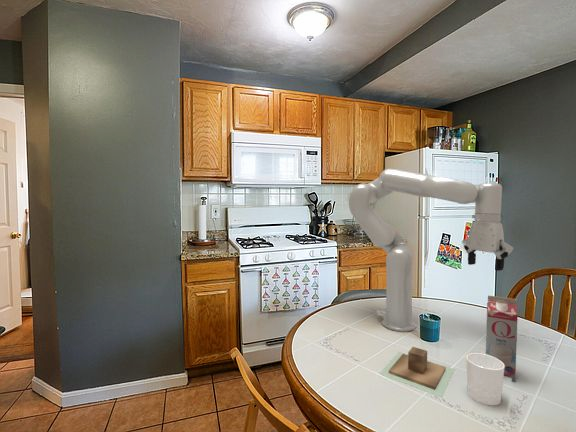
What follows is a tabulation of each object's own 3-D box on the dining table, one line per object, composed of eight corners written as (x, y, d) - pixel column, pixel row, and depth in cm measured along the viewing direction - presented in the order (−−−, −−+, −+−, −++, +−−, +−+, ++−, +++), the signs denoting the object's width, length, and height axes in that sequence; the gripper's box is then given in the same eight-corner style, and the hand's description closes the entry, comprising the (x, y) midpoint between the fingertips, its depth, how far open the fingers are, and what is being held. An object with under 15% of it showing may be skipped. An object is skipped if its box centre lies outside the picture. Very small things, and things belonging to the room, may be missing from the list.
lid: (388, 373, 85) (389, 352, 84) (403, 356, 94) (403, 337, 94) (435, 389, 77) (435, 367, 77) (445, 369, 86) (446, 349, 86)
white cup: (497, 393, 77) (498, 355, 77) (508, 414, 70) (509, 372, 69) (462, 387, 80) (463, 350, 79) (469, 406, 72) (470, 366, 72)
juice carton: (515, 382, 82) (518, 302, 81) (485, 374, 86) (488, 298, 85) (512, 370, 88) (515, 296, 87) (485, 364, 91) (487, 292, 90)
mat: (379, 377, 84) (379, 373, 84) (398, 354, 97) (398, 351, 97) (441, 401, 74) (441, 397, 74) (454, 372, 87) (454, 369, 87)
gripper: (457, 217, 112) (455, 263, 113) (506, 220, 96) (503, 273, 97) (471, 217, 115) (468, 261, 116) (521, 220, 99) (518, 271, 100)
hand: (484, 267), depth 106 cm, fingers open, 9 cm apart
